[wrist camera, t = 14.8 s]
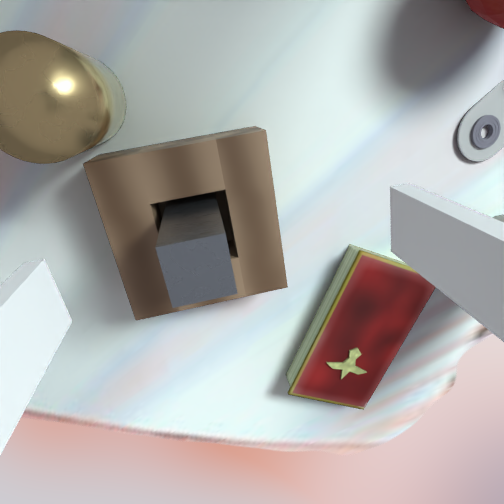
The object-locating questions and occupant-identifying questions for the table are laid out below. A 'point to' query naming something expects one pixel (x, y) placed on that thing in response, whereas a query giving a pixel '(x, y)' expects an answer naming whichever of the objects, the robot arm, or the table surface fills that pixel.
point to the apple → (489, 10)
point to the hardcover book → (358, 329)
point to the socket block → (184, 185)
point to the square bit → (194, 251)
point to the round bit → (54, 99)
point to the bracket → (483, 113)
